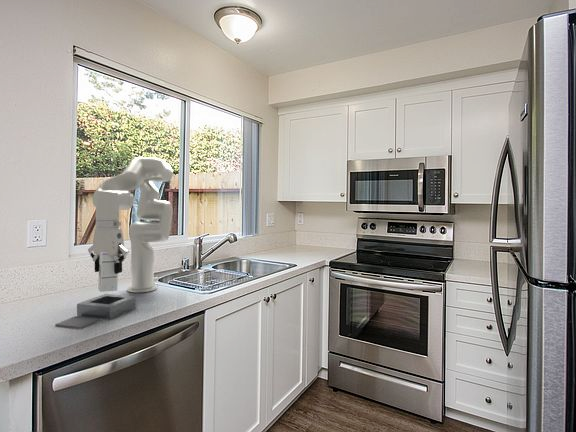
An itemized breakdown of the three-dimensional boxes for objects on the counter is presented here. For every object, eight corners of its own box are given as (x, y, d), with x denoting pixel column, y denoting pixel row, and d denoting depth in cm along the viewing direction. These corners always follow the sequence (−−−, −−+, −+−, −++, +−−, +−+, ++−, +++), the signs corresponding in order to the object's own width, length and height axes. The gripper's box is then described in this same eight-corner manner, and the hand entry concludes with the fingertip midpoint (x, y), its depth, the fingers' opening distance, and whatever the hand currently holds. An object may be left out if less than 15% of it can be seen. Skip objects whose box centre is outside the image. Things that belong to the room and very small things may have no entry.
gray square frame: (105, 305, 131) (105, 293, 131) (135, 308, 128) (135, 296, 128) (77, 316, 118) (76, 303, 118) (109, 320, 115) (109, 307, 115)
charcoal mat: (75, 317, 116) (75, 316, 116) (100, 320, 114) (100, 318, 114) (55, 325, 109) (55, 324, 109) (81, 329, 107) (81, 327, 107)
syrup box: (117, 290, 122) (119, 251, 122) (99, 292, 119) (101, 251, 119) (115, 287, 127) (116, 249, 127) (97, 289, 123) (99, 249, 124)
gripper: (135, 224, 124) (135, 271, 125) (95, 222, 127) (96, 268, 129) (121, 226, 116) (121, 276, 118) (79, 224, 120) (80, 272, 121)
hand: (108, 271), depth 123 cm, fingers closed on syrup box, 7 cm apart
